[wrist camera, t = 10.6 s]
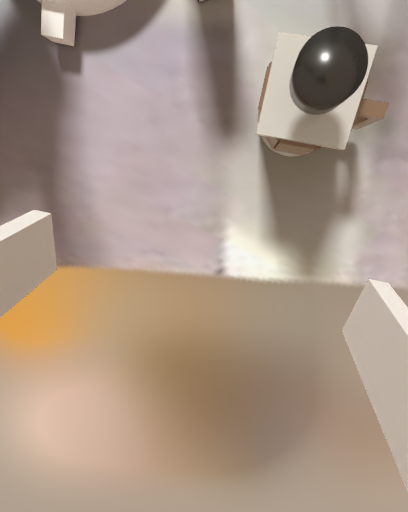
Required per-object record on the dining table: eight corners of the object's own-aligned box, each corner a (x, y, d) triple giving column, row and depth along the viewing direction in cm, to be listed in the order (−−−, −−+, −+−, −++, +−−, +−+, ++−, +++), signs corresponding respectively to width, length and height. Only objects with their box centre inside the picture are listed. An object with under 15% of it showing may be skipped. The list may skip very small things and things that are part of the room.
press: (249, 149, 42) (246, 140, 30) (267, 68, 39) (272, 20, 26) (339, 166, 40) (375, 164, 28) (366, 83, 37) (419, 40, 25)
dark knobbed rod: (273, 130, 38) (286, 99, 22) (284, 89, 37) (305, 21, 20) (311, 137, 38) (354, 111, 21) (323, 95, 36) (379, 31, 20)
